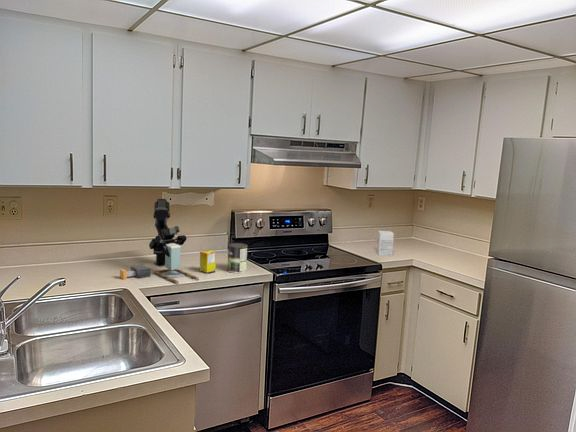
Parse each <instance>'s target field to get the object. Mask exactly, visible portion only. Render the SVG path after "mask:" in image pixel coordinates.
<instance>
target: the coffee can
mask: <svg viewBox="0 0 576 432" xmlns="http://www.w3.org/2000/svg"><path fill="white" fill-rule="evenodd" d="M247 257H248V244H246V243H242V242H233V243H229V244H227V272H228V273H232V274H244V273H246V272H247V264H248V263H247V261H248V258H247Z"/></svg>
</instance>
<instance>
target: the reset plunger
mask: <svg viewBox="0 0 576 432" xmlns="http://www.w3.org/2000/svg"><path fill="white" fill-rule="evenodd" d="M133 276H135V277H136V271H135V270H134V271H131V270H128V271H127V270H126V269H123V268H121V269H119V278H120V279H122V280H128V277H133Z"/></svg>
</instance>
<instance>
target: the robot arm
mask: <svg viewBox="0 0 576 432" xmlns="http://www.w3.org/2000/svg"><path fill="white" fill-rule="evenodd" d="M153 203H154V205H153V207H154V210H153V219H154V222H155V223H154V227H155V229H156V231H157V235H156V236H155V237H154V238H152V239H151V241H150V242H149V244H148V246H149V249H150V250H152V251H153V255H155V262H153V264H154V265H155V266H158V267H162V266H165V255H167V256H168V257H170V254H169V252H168V249H167V247H166V244H173V243H175V244H177V245H180V246H183V245H184V244H185V243H186V241H187V240H188V238H187V236H186V235H184V234H182V235H177V234H179V233H180V228H179V226H178V225H177V226H174V227H169V226H168V224H167V222H168V219H170V218H171V213H170V204H171V203H170V202H169V201H167V199H166V198H157V200H156V201H155V202H153ZM175 235H177V237H176V238H175Z"/></svg>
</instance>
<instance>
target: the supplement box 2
mask: <svg viewBox="0 0 576 432" xmlns="http://www.w3.org/2000/svg"><path fill="white" fill-rule="evenodd" d="M377 231H378V232H377V244H376V245H377V246H376V253H377V255H378V256H379V257H380V256H381V257H382V256H383V257H393V251H394V239H395V238H394V237H395V233H394V232H393V231H392V230H377Z"/></svg>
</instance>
